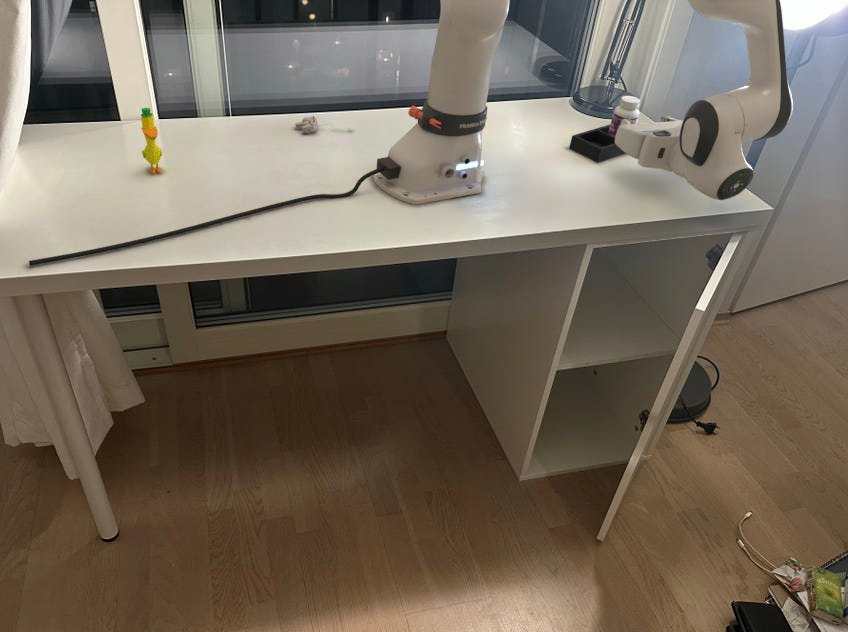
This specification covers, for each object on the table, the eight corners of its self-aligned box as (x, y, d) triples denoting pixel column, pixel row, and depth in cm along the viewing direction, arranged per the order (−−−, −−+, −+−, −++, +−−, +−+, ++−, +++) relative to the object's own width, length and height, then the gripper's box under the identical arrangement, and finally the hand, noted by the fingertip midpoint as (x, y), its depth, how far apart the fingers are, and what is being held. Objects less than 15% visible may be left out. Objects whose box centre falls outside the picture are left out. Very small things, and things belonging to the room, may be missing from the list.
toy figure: (168, 178, 133) (160, 116, 126) (149, 181, 132) (139, 118, 124) (161, 163, 138) (152, 102, 130) (142, 165, 137) (132, 104, 129)
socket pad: (642, 147, 157) (646, 134, 155) (597, 162, 150) (601, 149, 148) (613, 134, 162) (617, 122, 160) (568, 148, 155) (572, 135, 153)
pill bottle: (601, 137, 159) (613, 94, 152) (623, 136, 159) (636, 94, 153) (611, 147, 155) (624, 103, 148) (634, 146, 155) (648, 103, 149)
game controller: (292, 125, 156) (292, 113, 154) (342, 121, 159) (343, 110, 157) (299, 135, 152) (299, 123, 150) (350, 131, 155) (350, 120, 153)
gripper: (733, 129, 138) (690, 103, 148) (644, 136, 133) (606, 108, 143) (721, 159, 142) (680, 132, 152) (634, 167, 137) (597, 138, 147)
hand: (643, 120), depth 148 cm, fingers open, 8 cm apart
